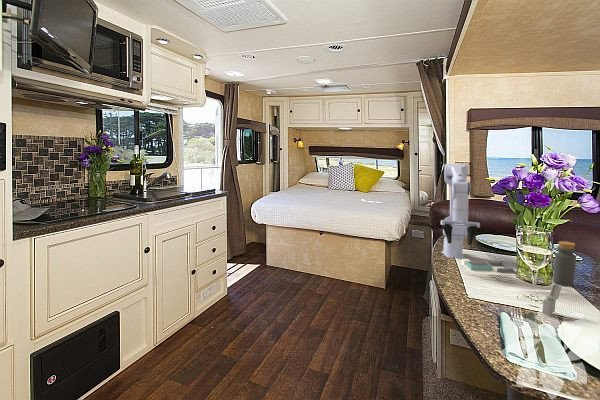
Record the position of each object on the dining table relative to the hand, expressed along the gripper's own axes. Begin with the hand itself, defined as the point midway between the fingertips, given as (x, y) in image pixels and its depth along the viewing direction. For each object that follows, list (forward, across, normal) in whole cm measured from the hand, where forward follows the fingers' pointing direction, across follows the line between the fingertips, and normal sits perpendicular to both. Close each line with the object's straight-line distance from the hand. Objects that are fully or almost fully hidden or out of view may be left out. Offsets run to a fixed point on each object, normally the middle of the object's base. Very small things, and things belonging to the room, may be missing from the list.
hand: (459, 244), depth 132 cm
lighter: (+18, +15, -31) cm, 39 cm away
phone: (+9, +9, +3) cm, 13 cm away
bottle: (+11, +33, -8) cm, 36 cm away
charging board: (+9, +12, +4) cm, 16 cm away
